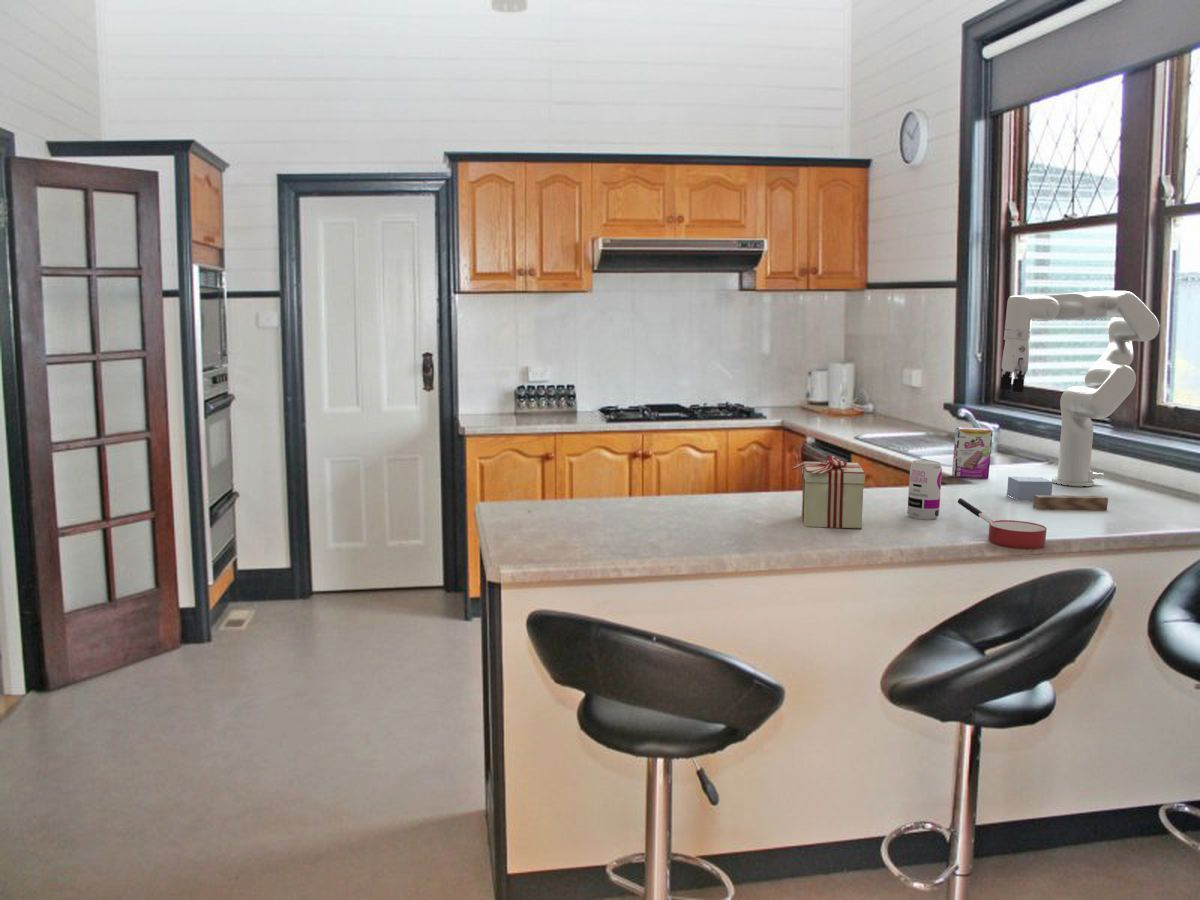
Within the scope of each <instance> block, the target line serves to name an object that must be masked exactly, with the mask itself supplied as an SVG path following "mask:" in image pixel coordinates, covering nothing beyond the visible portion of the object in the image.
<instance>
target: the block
mask: <svg viewBox="0 0 1200 900" xmlns="http://www.w3.org/2000/svg"><path fill="white" fill-rule="evenodd" d="M1052 491H1053V482H1052V480H1049V479H1047V478H1044V477H1039V476H1008V478H1007V489H1006V496H1007V495H1009V496H1011V497H1013V498H1015V499H1017V500H1029V501H1028V502H1033V501H1034V495H1053V494H1052V493H1053V492H1052ZM1009 496H1008V497H1009ZM1011 497H1010V498H1011ZM1013 498H1012V499H1013ZM1015 499H1014V500H1015ZM1017 500H1016V501H1017Z"/></svg>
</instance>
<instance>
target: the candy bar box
mask: <svg viewBox="0 0 1200 900" xmlns="http://www.w3.org/2000/svg"><path fill="white" fill-rule="evenodd" d="M993 432H994V431H993V429H990V428H984V427H983V428H980V427H960V426H958V427H957V426H956V427H955V432H954V433H955V435H954V443H953V445H954V446H953V457H952V458H953V459H952V469H951V475H952V476H953V477H954V478H959V479H963V478H965V479H982V480H985V479H986V480H988V479H989V475H990V462H991V452H992V442H993Z"/></svg>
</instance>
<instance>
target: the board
mask: <svg viewBox="0 0 1200 900" xmlns="http://www.w3.org/2000/svg"><path fill="white" fill-rule="evenodd" d="M1108 501H1109V498H1108V497H1106V496H1103V495H1070V494H1069V495H1065V494H1064V495H1060V494H1059V495H1058V494H1056V495H1054V494H1052V495H1034V501H1032V502H1033V503H1032V507H1033V508H1035V509H1037V510H1045V509H1049V510H1053V511H1054V510H1055V509H1062V510H1061V511H1063V510H1064V511H1067V510H1068V511H1108V503H1109V502H1108ZM1049 510H1048V511H1049ZM1045 511H1046V510H1045ZM1055 511H1056V510H1055Z"/></svg>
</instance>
